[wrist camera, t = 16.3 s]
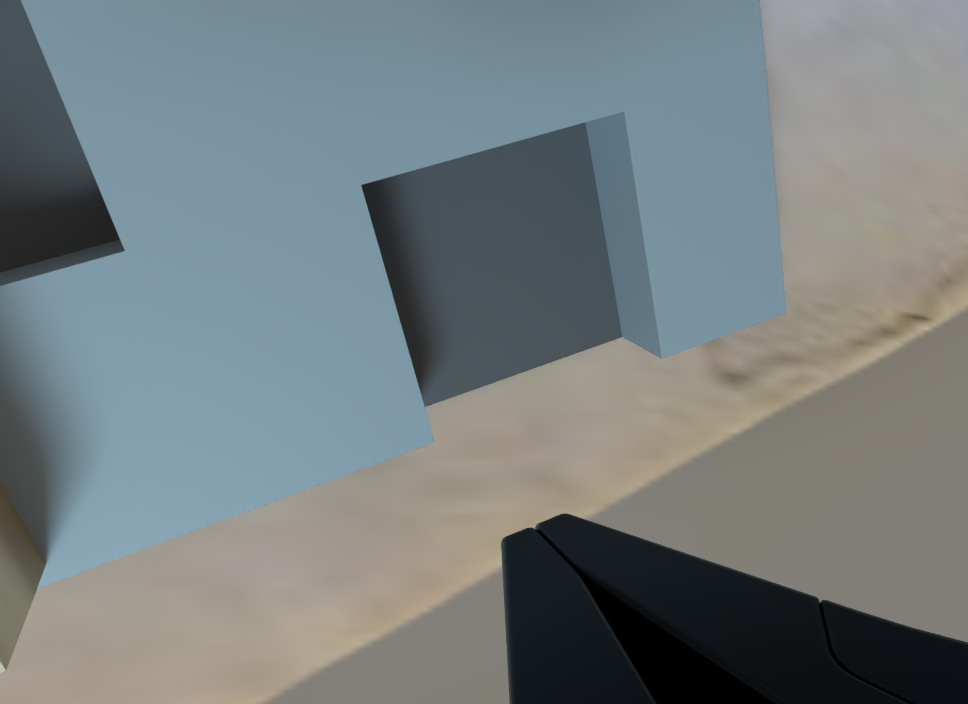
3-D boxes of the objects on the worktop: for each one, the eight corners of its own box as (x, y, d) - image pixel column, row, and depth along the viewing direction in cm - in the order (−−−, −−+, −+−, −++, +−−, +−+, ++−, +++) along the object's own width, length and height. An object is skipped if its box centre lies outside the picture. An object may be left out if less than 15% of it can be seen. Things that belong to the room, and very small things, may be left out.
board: (676, -218, 19) (841, -336, 14) (734, 306, 24) (870, 357, 19) (-667, 15, 13) (-1217, -46, 8) (-209, 644, 18) (-371, 846, 13)
